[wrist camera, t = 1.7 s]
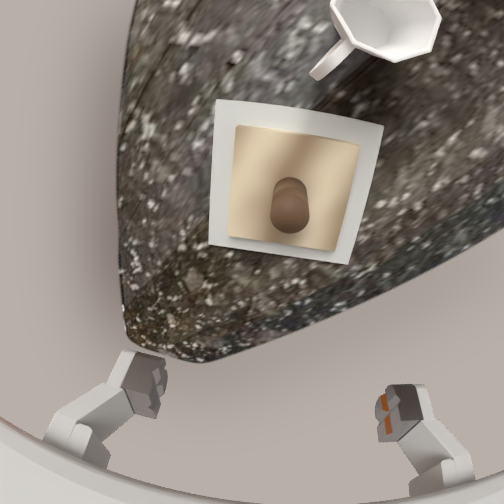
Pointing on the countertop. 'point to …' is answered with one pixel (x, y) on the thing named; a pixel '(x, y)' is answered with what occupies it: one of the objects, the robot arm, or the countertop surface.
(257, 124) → the mat
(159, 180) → the countertop surface
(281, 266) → the countertop surface
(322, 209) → the lid
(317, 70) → the cup
